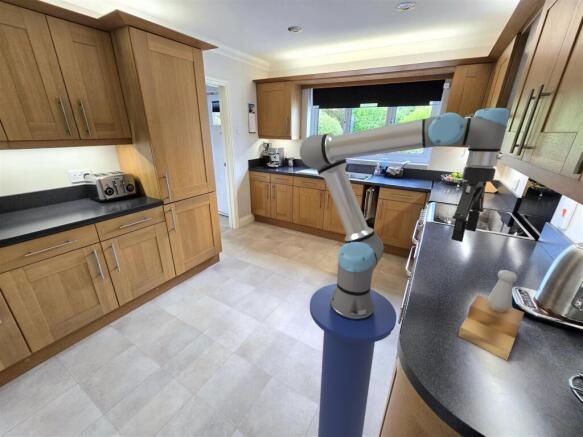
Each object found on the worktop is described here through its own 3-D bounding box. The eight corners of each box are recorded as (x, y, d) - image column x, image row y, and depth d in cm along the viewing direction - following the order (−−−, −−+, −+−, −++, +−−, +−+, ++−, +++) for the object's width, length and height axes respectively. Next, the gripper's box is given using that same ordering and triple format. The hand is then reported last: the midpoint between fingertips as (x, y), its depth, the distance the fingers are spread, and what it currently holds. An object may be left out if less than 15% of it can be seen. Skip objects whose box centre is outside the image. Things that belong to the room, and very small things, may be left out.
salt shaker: (511, 316, 74) (523, 279, 70) (487, 310, 77) (498, 273, 73) (507, 306, 78) (518, 270, 75) (485, 300, 81) (494, 265, 77)
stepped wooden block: (458, 335, 77) (463, 314, 74) (472, 314, 87) (477, 294, 84) (507, 360, 68) (515, 337, 66) (517, 333, 78) (524, 312, 76)
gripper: (484, 170, 60) (465, 249, 66) (505, 165, 75) (488, 229, 81) (450, 168, 65) (435, 241, 71) (476, 163, 81) (462, 224, 87)
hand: (463, 235), depth 76 cm, fingers open, 13 cm apart
